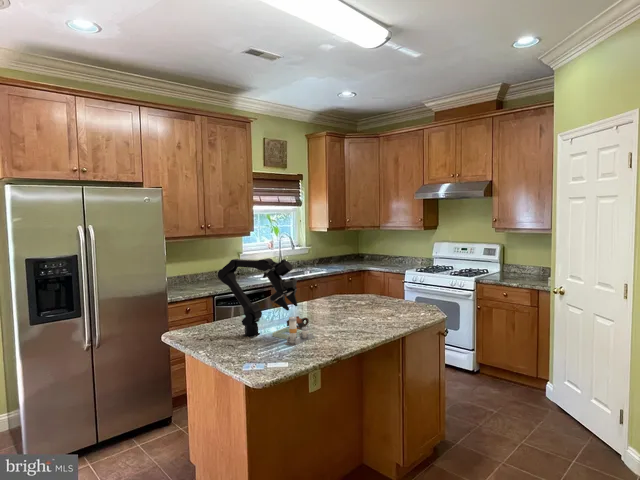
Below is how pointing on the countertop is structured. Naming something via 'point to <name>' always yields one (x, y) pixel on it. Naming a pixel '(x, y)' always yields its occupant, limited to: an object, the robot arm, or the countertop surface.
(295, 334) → the banded fuse
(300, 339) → the block
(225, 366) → the countertop surface
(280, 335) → the tray
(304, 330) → the cylinder
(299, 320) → the pottery mug
